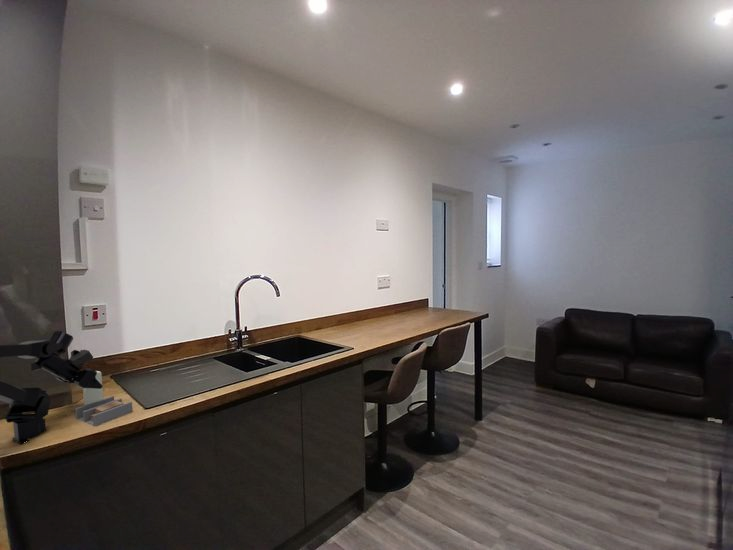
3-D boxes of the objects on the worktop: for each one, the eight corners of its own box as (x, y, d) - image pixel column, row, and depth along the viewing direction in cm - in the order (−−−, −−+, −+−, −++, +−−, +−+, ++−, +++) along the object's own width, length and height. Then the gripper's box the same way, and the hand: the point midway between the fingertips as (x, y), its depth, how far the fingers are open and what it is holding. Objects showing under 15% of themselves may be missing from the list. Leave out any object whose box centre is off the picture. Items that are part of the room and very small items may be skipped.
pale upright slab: (88, 410, 134) (86, 376, 133) (84, 409, 136) (81, 374, 135) (103, 405, 139) (101, 371, 138) (99, 404, 140) (96, 370, 139)
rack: (95, 428, 121) (94, 416, 121) (76, 420, 127) (75, 408, 127) (132, 413, 132) (131, 402, 131) (113, 406, 138) (112, 395, 137)
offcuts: (97, 423, 123) (96, 412, 123) (90, 420, 125) (89, 410, 125) (125, 412, 131) (125, 402, 131) (118, 409, 133) (118, 400, 133)
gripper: (88, 347, 127) (124, 369, 137) (62, 342, 136) (97, 362, 146) (63, 377, 121) (102, 397, 131) (37, 369, 129) (76, 388, 140)
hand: (95, 385), depth 137 cm, fingers open, 9 cm apart
